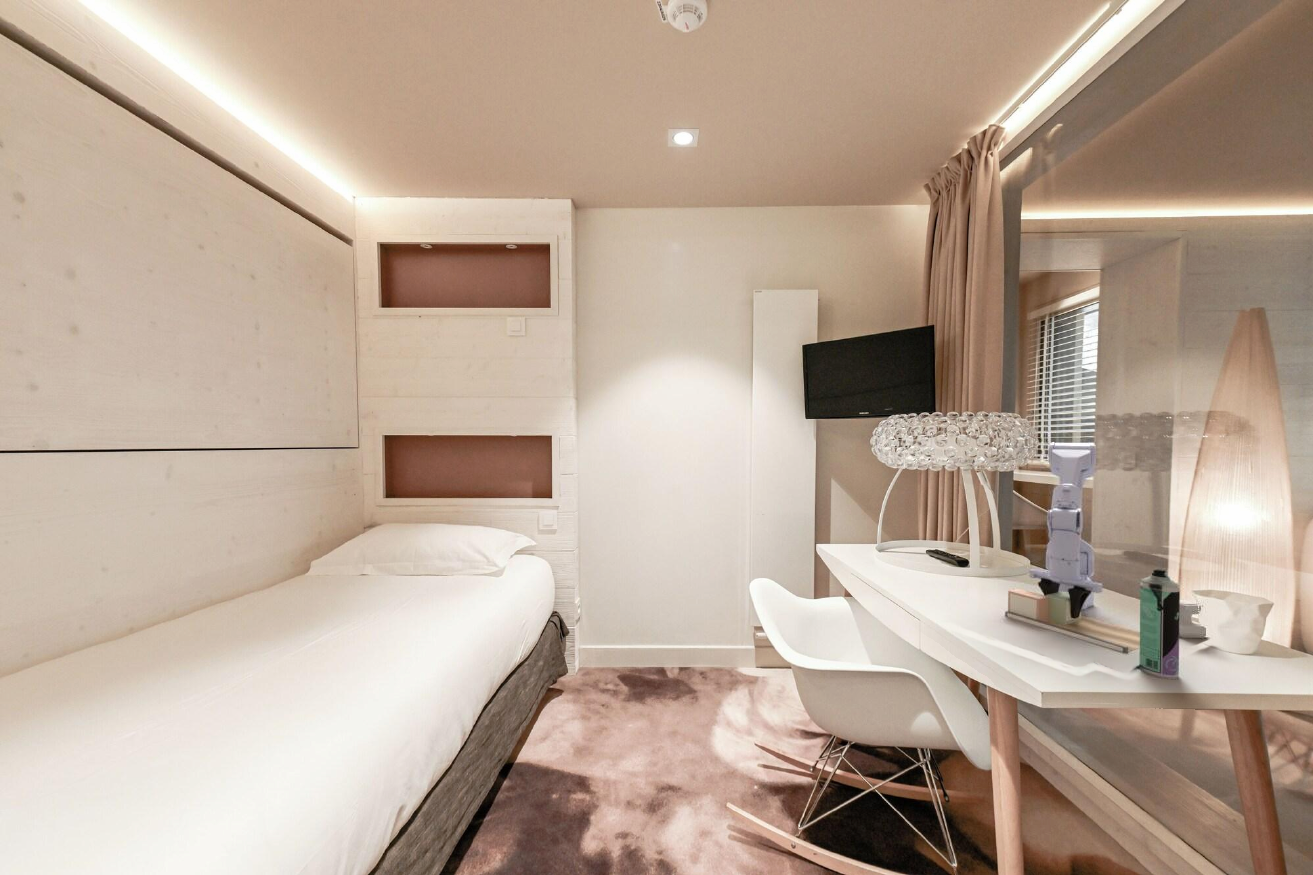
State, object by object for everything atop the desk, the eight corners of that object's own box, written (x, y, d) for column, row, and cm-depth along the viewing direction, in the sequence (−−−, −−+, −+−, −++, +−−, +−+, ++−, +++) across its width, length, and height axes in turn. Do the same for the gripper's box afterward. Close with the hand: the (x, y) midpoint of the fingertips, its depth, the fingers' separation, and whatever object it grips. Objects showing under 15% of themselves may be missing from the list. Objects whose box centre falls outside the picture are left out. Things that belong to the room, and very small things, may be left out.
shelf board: (1045, 610, 136) (1045, 606, 136) (1165, 644, 114) (1165, 638, 114) (1005, 620, 129) (1005, 615, 129) (1125, 658, 107) (1125, 652, 107)
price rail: (1007, 619, 129) (1007, 610, 129) (1128, 657, 107) (1128, 646, 107) (1005, 620, 129) (1005, 611, 129) (1125, 658, 107) (1125, 647, 107)
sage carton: (1046, 619, 126) (1046, 594, 126) (1062, 615, 129) (1062, 591, 129) (1065, 625, 122) (1065, 599, 122) (1081, 620, 125) (1081, 595, 125)
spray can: (1182, 681, 97) (1184, 574, 97) (1143, 674, 100) (1144, 570, 100) (1173, 670, 102) (1174, 568, 101) (1136, 663, 105) (1137, 564, 104)
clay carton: (1017, 612, 131) (1018, 588, 131) (1048, 621, 125) (1048, 596, 125) (1007, 614, 129) (1008, 590, 129) (1038, 624, 123) (1038, 598, 123)
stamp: (1188, 633, 121) (1188, 597, 121) (1218, 644, 114) (1219, 606, 114) (1149, 632, 121) (1149, 596, 121) (1177, 644, 114) (1177, 606, 114)
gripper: (1022, 553, 130) (1021, 607, 130) (1090, 567, 117) (1090, 627, 117) (1039, 550, 133) (1038, 603, 133) (1107, 563, 120) (1106, 622, 120)
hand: (1063, 614), depth 126 cm, fingers closed on sage carton, 4 cm apart
